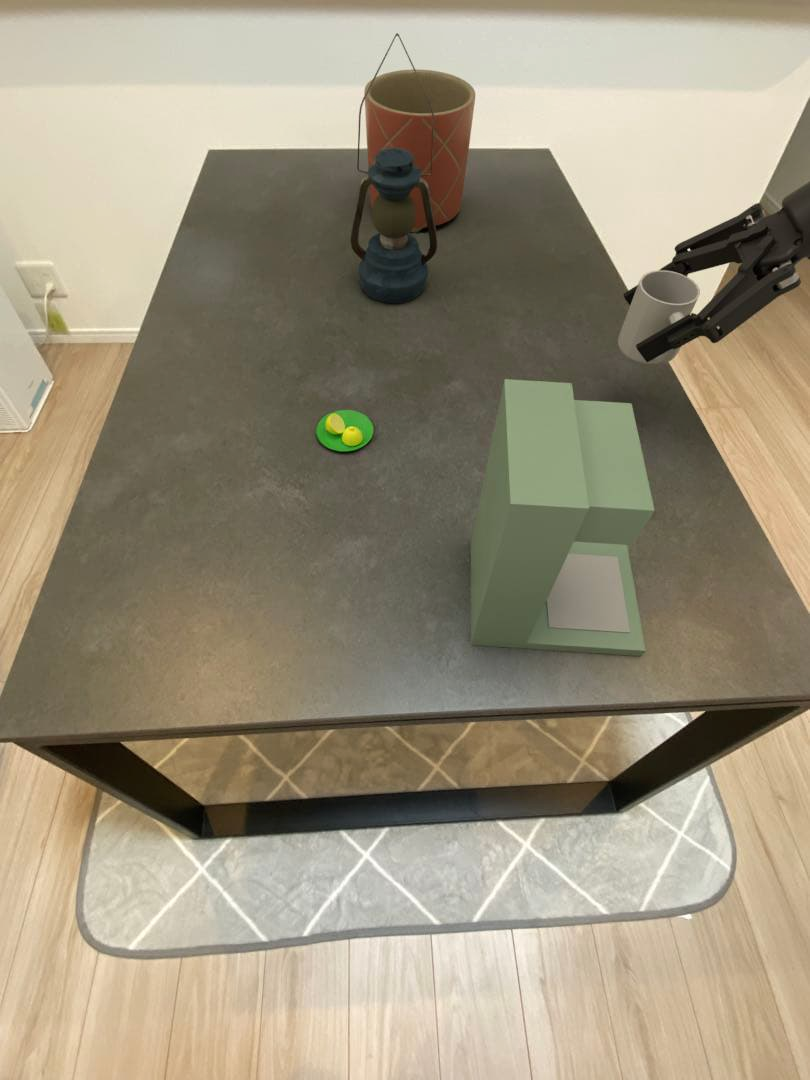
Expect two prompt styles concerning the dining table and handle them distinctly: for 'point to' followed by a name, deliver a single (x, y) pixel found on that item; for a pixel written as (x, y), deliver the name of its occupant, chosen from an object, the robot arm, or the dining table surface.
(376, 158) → the lantern
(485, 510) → the coffee maker
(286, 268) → the dining table surface
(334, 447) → the plate with lemons
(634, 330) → the cup
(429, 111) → the planter
